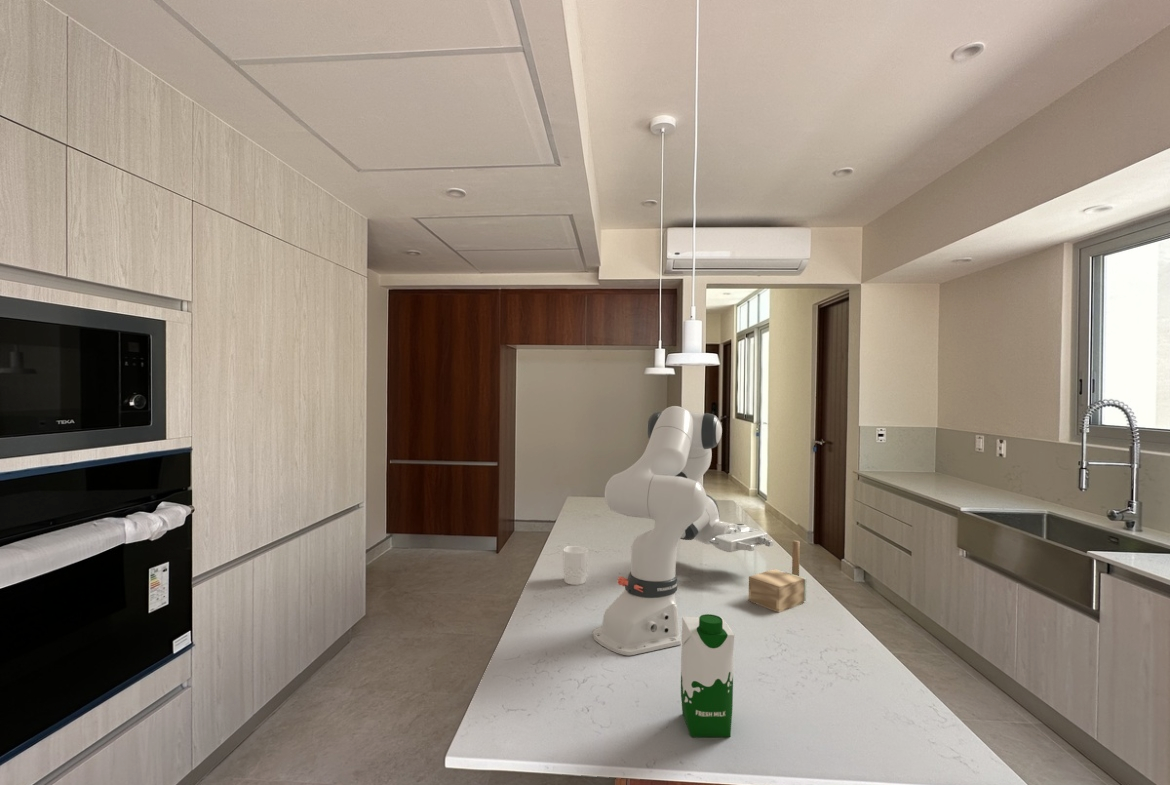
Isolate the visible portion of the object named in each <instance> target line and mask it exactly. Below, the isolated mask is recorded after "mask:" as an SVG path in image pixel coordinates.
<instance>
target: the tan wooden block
mask: <svg viewBox="0 0 1170 785" xmlns="http://www.w3.org/2000/svg"><path fill="white" fill-rule="evenodd" d="M778 570H779V569H777V570H775V568H774V569H769V570H767V571H763V572H760V573H757V574H753V575H750V576H748V602H750V601H751V603H752V604H755V603H756V604H755V605H758V604H759V605H758V606H761V607H764V608H766V609H769V610H771V611H775V612H778V613H781V612H784V611H786V610H789V609H792V608H794V607H797V606H800V605H803V604H805V601H804V578H805V577H803V578H801V577H802V576H800V577H797V576H794V575H791V574H792V573H790V574H788V573H789V572H787V573H785V572H786V571H784V572H781V571H782V570H780V571H778Z"/></svg>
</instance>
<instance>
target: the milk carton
mask: <svg viewBox="0 0 1170 785" xmlns="http://www.w3.org/2000/svg"><path fill="white" fill-rule="evenodd" d="M681 620H682V621H681V623H682V624H681V649H680V650H681V652H680V654H681V655H680V656H681V657H680V662H681V663H680V699H681V711H682V712H681V713H682V716H683V719H684V722H685V724H686V727H687V730H688V732H689V735H690V738H731V733H732V718H733V705H734V704H733V702H734V701H733V698H734V697H733V696H734V695H733V694H734V651H735V634H734V632H733V630H732V629H731V628H730V626H729V624H728V623H727V622H726V621H725V620H724V618H723V617H722V616H718V615H716V614H709V613H706V614H701V615H700V616H693V617H692V616H682V619H681Z"/></svg>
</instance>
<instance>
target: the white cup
mask: <svg viewBox="0 0 1170 785" xmlns="http://www.w3.org/2000/svg"><path fill="white" fill-rule="evenodd" d="M562 552H563V554H562V556H563V559H562V560H563V563H562V564H563V574H564V580H563V581H564V583H565V584H568V585H570V586H572V585H573V586H578V585H579V586H580V585H583V584H585V583H586V582H587V573H588V565H589V564H588V562H589V549H588V547H585V546H581V545H580V546H579V545H572V546H571V545H570V546H565V547H564V548H563V549H562Z"/></svg>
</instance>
